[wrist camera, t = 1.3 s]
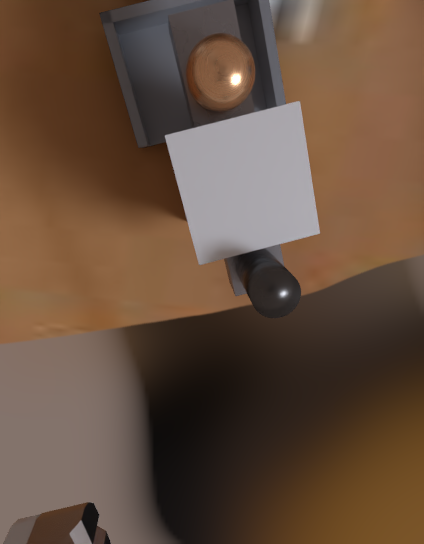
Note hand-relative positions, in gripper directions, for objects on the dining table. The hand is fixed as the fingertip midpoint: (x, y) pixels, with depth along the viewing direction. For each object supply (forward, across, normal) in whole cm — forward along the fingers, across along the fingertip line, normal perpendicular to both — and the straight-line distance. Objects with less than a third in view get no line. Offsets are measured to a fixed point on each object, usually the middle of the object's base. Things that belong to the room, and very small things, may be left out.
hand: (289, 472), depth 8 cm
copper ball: (+18, -3, -11) cm, 21 cm away
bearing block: (+32, -3, -5) cm, 32 cm away
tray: (+32, -3, -14) cm, 34 cm away
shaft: (+23, -3, -6) cm, 24 cm away
